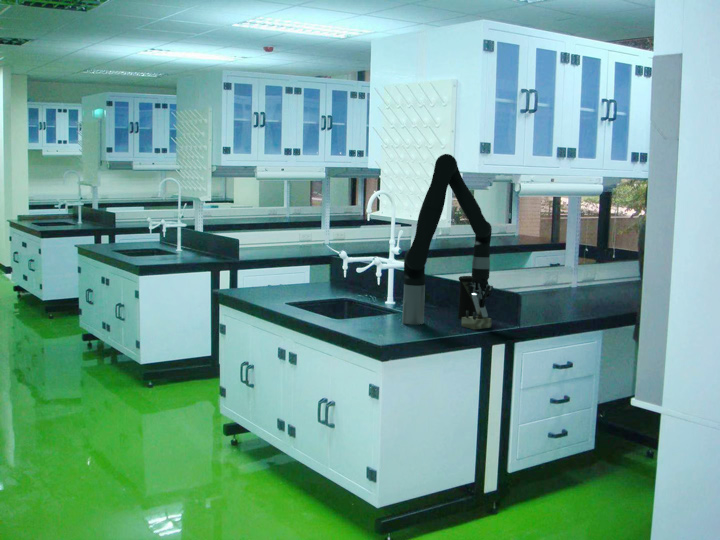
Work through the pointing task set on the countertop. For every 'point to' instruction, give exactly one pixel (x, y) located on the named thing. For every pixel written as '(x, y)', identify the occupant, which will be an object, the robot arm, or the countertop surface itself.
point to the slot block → (475, 322)
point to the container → (465, 298)
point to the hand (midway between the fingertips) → (478, 306)
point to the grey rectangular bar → (480, 311)
